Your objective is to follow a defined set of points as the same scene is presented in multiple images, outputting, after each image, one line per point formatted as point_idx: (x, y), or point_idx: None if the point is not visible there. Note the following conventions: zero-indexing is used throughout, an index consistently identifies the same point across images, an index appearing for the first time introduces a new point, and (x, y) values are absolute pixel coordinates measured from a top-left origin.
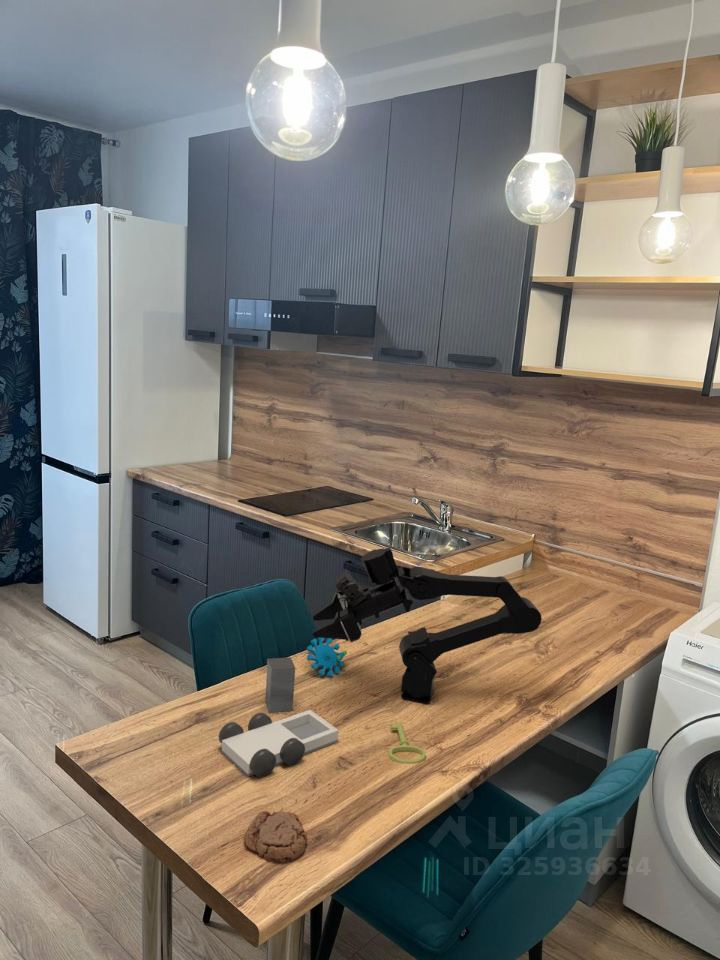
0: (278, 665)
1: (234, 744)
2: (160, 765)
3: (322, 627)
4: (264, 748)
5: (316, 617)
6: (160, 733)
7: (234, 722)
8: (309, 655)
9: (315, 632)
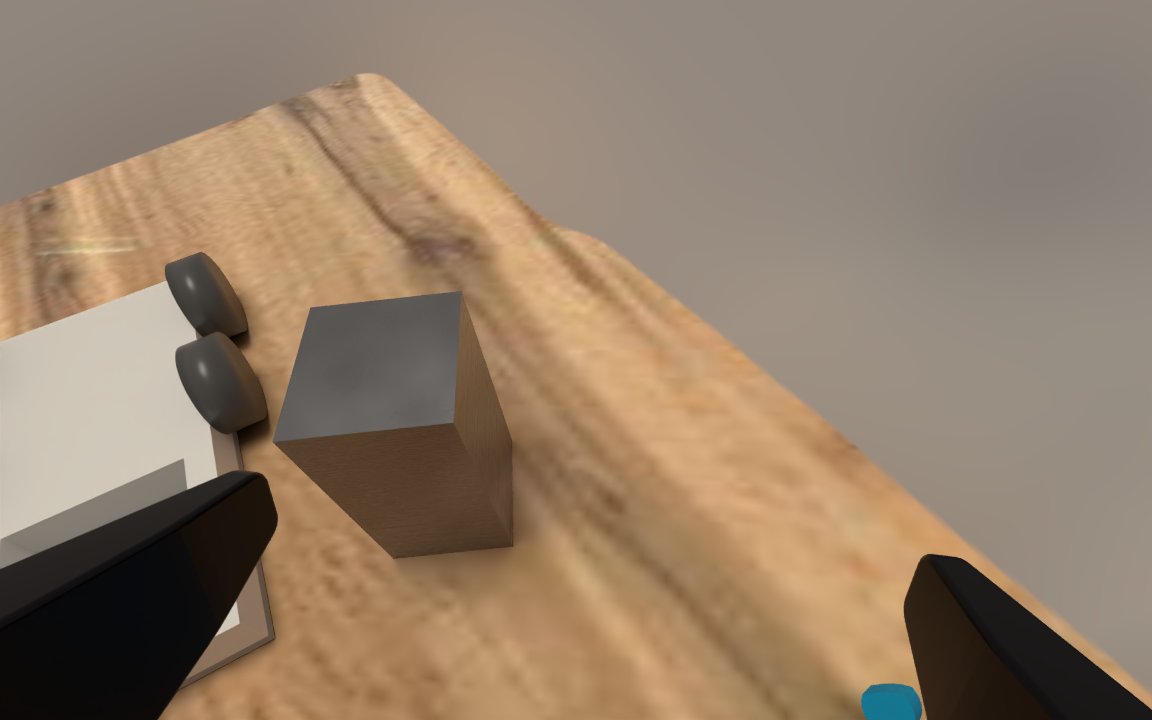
0: (346, 342)
1: (138, 304)
2: (230, 193)
3: (27, 576)
4: (49, 390)
5: (932, 629)
6: (380, 179)
7: (199, 277)
8: (893, 701)
9: (185, 497)
